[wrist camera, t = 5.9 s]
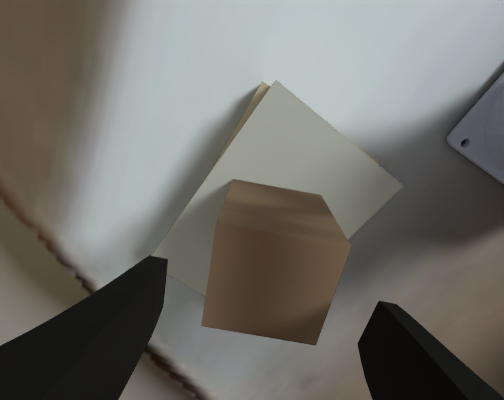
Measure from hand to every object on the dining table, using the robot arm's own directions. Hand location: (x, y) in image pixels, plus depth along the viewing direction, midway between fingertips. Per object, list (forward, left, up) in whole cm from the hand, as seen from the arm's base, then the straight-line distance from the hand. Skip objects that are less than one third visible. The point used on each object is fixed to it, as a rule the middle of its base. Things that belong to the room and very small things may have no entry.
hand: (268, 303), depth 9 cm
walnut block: (0, 0, -6) cm, 6 cm away
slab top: (0, 0, -8) cm, 8 cm away
